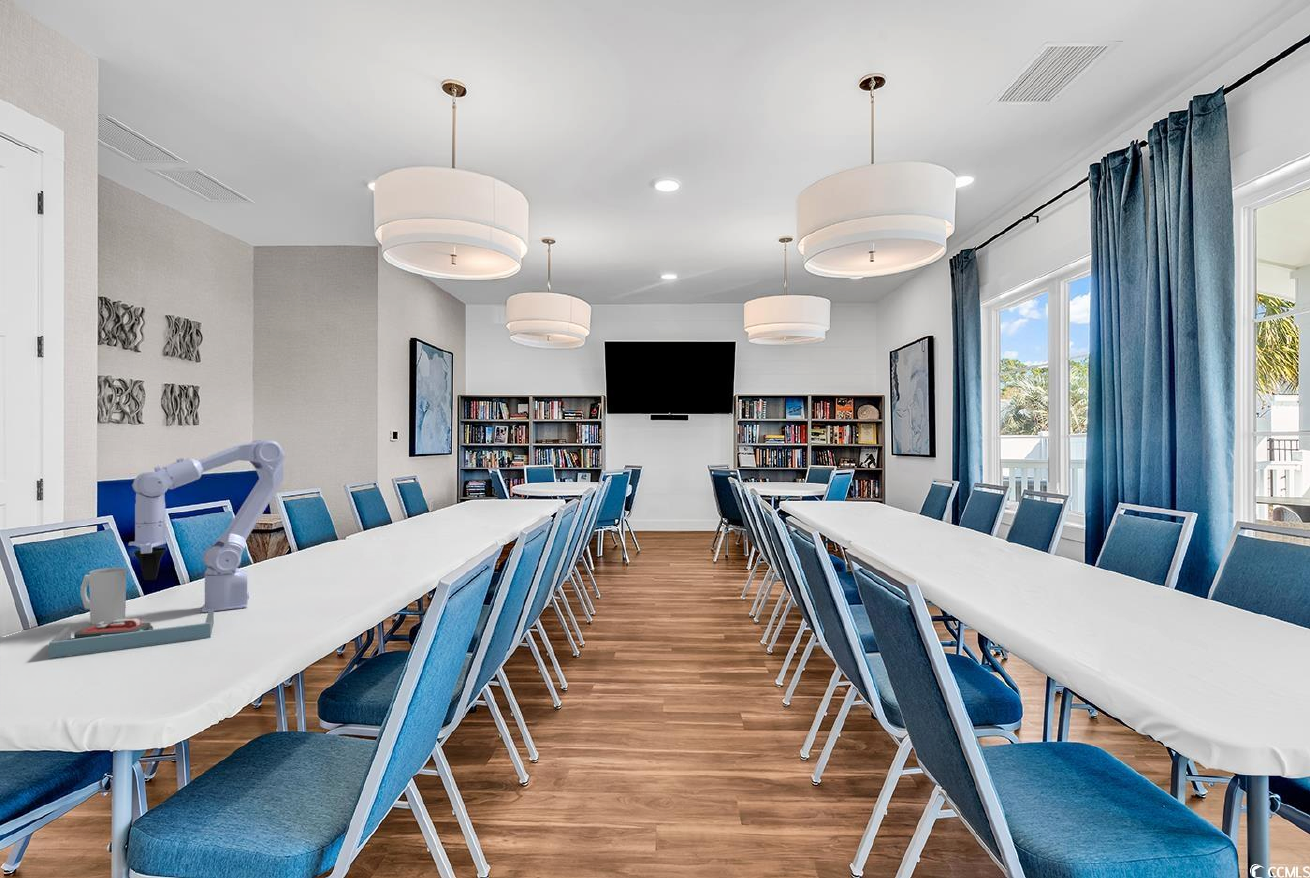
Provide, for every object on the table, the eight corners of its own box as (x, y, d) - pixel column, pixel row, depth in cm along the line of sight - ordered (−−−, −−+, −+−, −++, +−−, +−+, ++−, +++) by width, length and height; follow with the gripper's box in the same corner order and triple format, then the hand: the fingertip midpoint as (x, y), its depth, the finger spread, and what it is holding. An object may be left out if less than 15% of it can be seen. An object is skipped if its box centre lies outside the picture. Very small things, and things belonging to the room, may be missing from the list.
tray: (213, 623, 151) (213, 610, 151) (210, 637, 140) (210, 623, 140) (64, 642, 137) (64, 627, 137) (48, 658, 127) (48, 643, 127)
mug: (134, 617, 156) (134, 567, 156) (108, 625, 149) (108, 573, 149) (94, 617, 157) (94, 567, 157) (67, 624, 150) (67, 572, 150)
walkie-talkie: (59, 651, 132) (172, 643, 137) (59, 629, 132) (172, 622, 137) (85, 639, 141) (191, 632, 146) (85, 618, 141) (191, 612, 146)
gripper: (133, 520, 159) (133, 576, 159) (123, 527, 146) (123, 587, 146) (169, 518, 163) (169, 573, 162) (162, 524, 150) (162, 583, 150)
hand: (150, 579), depth 155 cm, fingers closed
